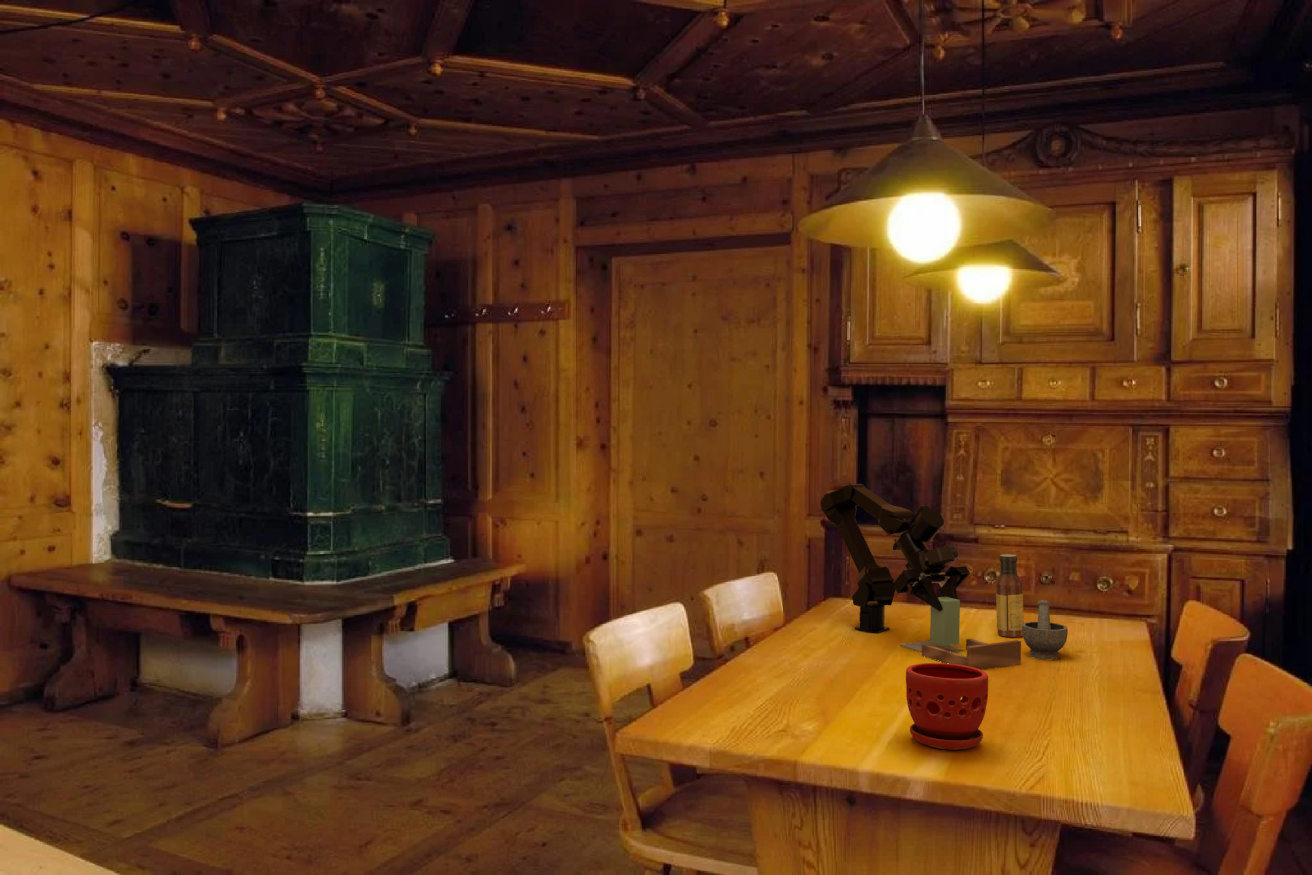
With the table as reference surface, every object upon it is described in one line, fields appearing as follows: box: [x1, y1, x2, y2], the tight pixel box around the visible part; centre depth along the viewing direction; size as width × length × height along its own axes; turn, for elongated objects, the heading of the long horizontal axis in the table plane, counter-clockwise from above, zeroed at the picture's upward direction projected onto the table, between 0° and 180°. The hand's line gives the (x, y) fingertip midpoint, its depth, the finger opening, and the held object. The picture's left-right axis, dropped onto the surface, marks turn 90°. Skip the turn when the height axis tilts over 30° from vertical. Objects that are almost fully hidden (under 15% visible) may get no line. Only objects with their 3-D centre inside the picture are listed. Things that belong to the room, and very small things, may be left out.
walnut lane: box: [921, 638, 1022, 671], centre depth 220 cm, size 15×14×5 cm
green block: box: [929, 596, 961, 646], centre depth 227 cm, size 4×4×10 cm
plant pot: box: [905, 662, 989, 752], centre depth 165 cm, size 13×13×12 cm
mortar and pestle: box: [1022, 599, 1069, 661], centre depth 224 cm, size 11×9×12 cm
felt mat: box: [899, 640, 964, 653], centre depth 232 cm, size 10×10×1 cm
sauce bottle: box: [995, 553, 1025, 638], centre depth 245 cm, size 7×6×20 cm
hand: (949, 609), depth 226 cm, fingers closed on green block, 4 cm apart
